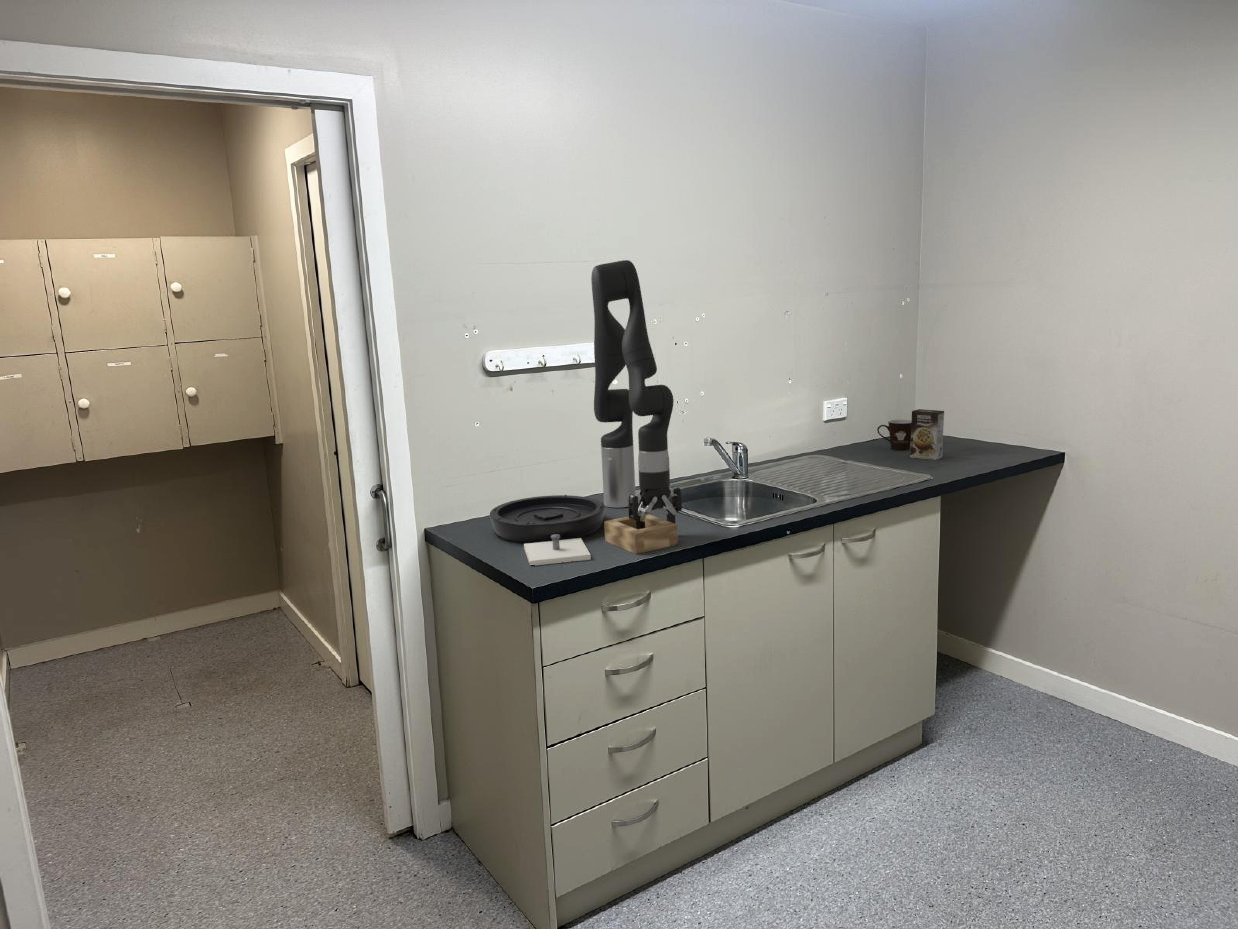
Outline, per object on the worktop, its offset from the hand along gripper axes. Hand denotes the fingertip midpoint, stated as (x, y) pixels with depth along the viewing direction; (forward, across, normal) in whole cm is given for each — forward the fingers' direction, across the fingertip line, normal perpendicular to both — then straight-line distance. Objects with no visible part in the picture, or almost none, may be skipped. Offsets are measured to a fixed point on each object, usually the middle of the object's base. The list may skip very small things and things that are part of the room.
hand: (656, 532), depth 210 cm
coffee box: (+2, -125, -20) cm, 127 cm away
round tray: (+2, +16, -27) cm, 31 cm away
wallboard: (+2, +25, -5) cm, 26 cm away
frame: (+2, +5, 0) cm, 5 cm away
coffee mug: (+1, -130, -38) cm, 135 cm away
